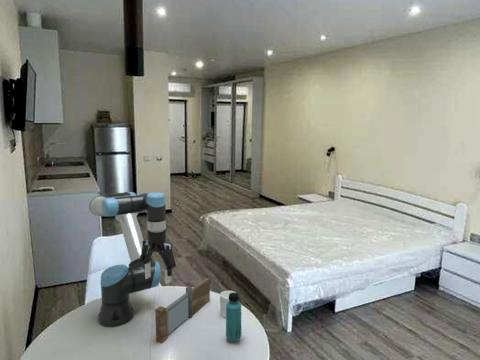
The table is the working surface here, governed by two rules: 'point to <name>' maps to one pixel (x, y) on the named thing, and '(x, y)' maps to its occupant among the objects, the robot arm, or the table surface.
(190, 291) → the gate frame
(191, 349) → the table surface
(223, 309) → the white cup
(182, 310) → the gate panel
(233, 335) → the beverage bottle
